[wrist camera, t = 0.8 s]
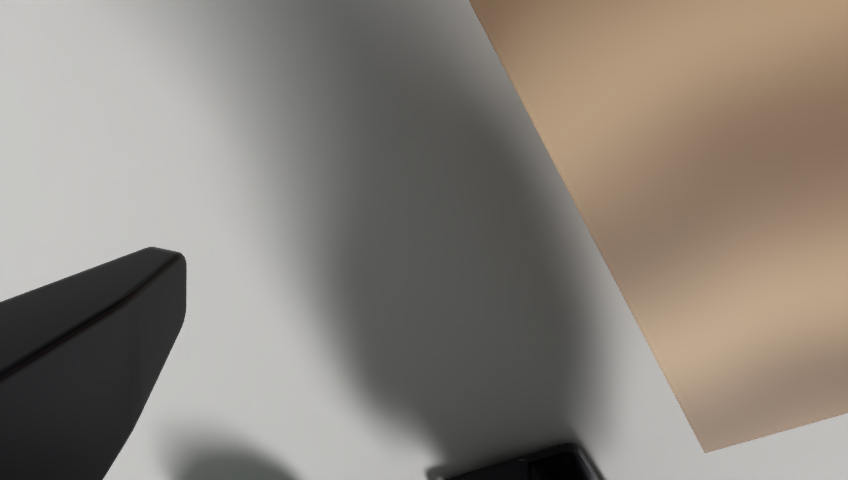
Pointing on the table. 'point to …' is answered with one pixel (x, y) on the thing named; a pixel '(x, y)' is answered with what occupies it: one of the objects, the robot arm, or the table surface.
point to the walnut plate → (706, 186)
